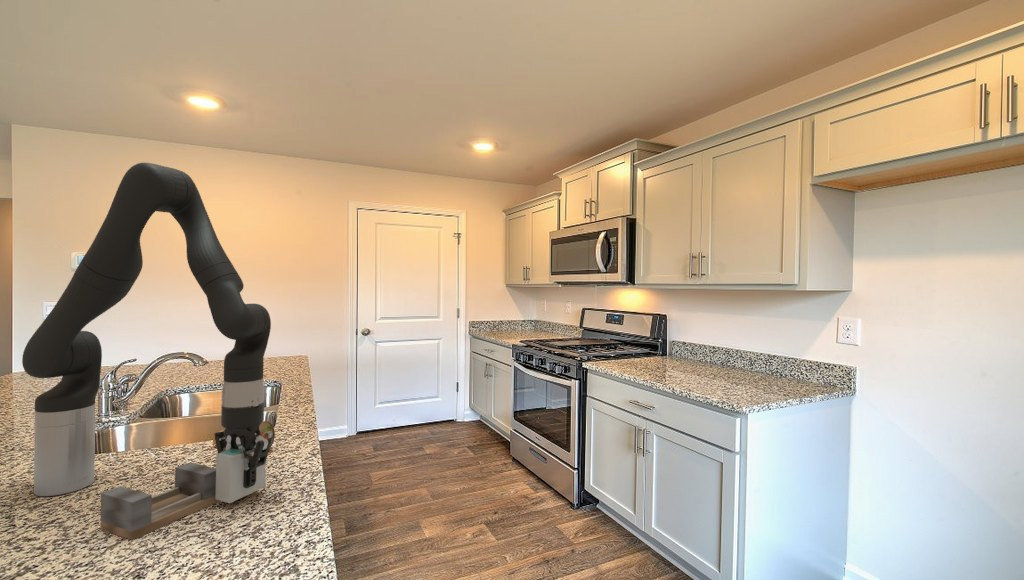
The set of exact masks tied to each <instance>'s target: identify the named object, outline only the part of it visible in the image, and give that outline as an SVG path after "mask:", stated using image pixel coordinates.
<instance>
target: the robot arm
mask: <svg viewBox="0 0 1024 580" xmlns="http://www.w3.org/2000/svg"><path fill="white" fill-rule="evenodd" d="M155 212H159V213H169V214H170V215H171V216H172V217H173V218H174V220H175V221H176V222H177V223H178V224H179V226H180V228H181V229H182V231H183V234H184V237H185V242H186V243H185V244H186V260H187V264H188V267H189V269H190V272H191V273H192V276H193V277H194V278H195V280H196V282H197V283H198V285H199V287H200V289H201V290H202V291H203V293H204V295H205V296H206V299H207V303H208V308H209V310H210V313H211V317H212V320H213V323H214V325H215V327H216V328H217V330H218V332H220V334H222V335H223V336H224V337H225V338H227V339H229V340H233V341H234V346H233V348H232V349H231V350H230V351H228V353H226V354H225V356H224V359H223V383H222V388H221V410H220V411H221V413H220V415H221V417H220V418H221V420H220V425H221V427H222V428H224V429H223V431H222V430H220V432H219V431H217V432H215V433H214V435H213V437H215V441H216V444H215V445H216V450H217V454H218V453H221V452H222V451H224V450H223V449H224V448H225V447H226V450H228V449H232V448H233V449H237V450H239V452H240V453H242V454H241V458H242V459H243V460H244V462H243V464H244V469H245V470H244V482H243V487H244V488H249V487H251V486H253V485H255V483H256V469H257V467H259V466H261V465H264V464H265V462H266V463H267V457H268V453H270V449H271V448H270V445H271V439H270V438H267V439H265V438H263V437H262V436H261V432H260V429H259V426H260V424H261V423H262V422H263V421H265V420H264V419H265V384H264V367H265V366H264V356H265V354H266V351H267V347H268V343H269V338H270V333H271V329H272V328H271V327H272V325H271V324H272V322H271V316H270V313H269V311H268V309H266V307H265V306H263V305H262V304H259V303H245V301H244V300H243V298H242V295H241V292H242V291H243V290H244V282H243V280H242V278H241V275H240V274H239V273H238V271H237V270H236V268H235V267H234V265H233V263H232V262H231V259H230V257H228V255H227V253H226V251H225V250H224V248H223V246H222V245H221V242H220V241H219V238H218V236H217V234H216V232H215V229H214V226H213V224H212V222H211V219H210V217H209V215H208V212H207V210H206V206H205V204H204V202H203V199H202V196H201V193H200V192H199V190H198V187H197V185H196V183H195V182H194V180H193V179H192V177H191V176H190V175H189V174H188V173H186V172H184V171H182V170H179V169H177V168H173V167H170V166H164V165H161V164H156V163H152V162H138V163H136V164H133V165H132V166H131V167H130V168H129V169H127V170H126V172H125V174H124V175H123V177H122V179H121V181H120V183H119V185H118V187H117V189H116V192H115V194H114V197H113V200H112V202H111V204H110V207H109V209H108V211H107V214H106V217H105V218H104V220H103V222H102V224H101V226H100V228H99V229H98V231H97V234H96V235H95V237H94V239H93V241H92V243H91V245H90V246H89V248H88V250H87V251H86V253H85V254H84V255H83V257H82V259H81V260H80V261H79V264H78V266H77V267H76V269H75V271H74V273H73V275H72V277H71V278H70V281H69V282H68V284H67V286H66V287H65V289H64V291H63V293H62V294H61V296H60V297H59V298H58V299H57V302H56V303H55V305H54V307H53V308H52V309H51V311H50V312H49V313H48V315H47V316H46V318H44V320H43V321H42V323H40V325H39V326H38V328H36V330H35V332H34V333H33V334H32V335H31V337H30V338H29V339H28V341H27V342H26V346H25V347H24V350H23V352H22V358H21V360H22V361H21V363H22V368H23V369H24V371H25V373H26V374H27V375H29V376H30V377H33V378H35V379H36V378H38V379H49V378H50V379H51V378H58V377H61V379H60V381H59V382H58V383H57V384H56V385H55V386H54V387H51V388H50V389H49V390H47V391H45V392H43V393H40V394H39V395H38V396H37V397H36V398H35V400H34V443H33V444H34V445H33V451H34V454H33V455H34V456H33V457H34V458H33V462H34V463H33V494H34V495H35V496H37V497H52V496H60V495H65V494H69V493H72V492H76V491H79V490H81V489H85V488H86V487H89V486H90V485H92V484H93V483H94V482H95V464H96V463H95V459H96V458H95V457H96V455H95V454H96V453H95V450H96V447H95V446H96V445H95V444H96V442H95V441H96V439H95V438H96V397H97V394H98V393H99V390H100V385H101V383H100V382H101V370H102V359H103V353H102V346H101V345H102V344H101V342H100V339H99V338H98V337H97V335H96V334H94V333H93V332H90V331H88V330H83V329H84V328H85V327H86V326H87V325H89V324H90V323H91V322H92V321H94V320H95V319H97V318H98V317H99V316H101V315H103V314H104V313H106V312H107V311H108V310H110V309H111V308H113V307H114V306H116V305H117V304H118V303H120V302H121V301H123V299H124V298H125V297H126V296H127V295H129V293H130V291H131V290H132V288H133V286H134V284H135V283H136V280H138V278H139V276H140V273H141V272H142V269H143V254H142V246H141V237H142V233H143V230H144V228H145V227H146V225H147V223H148V222H149V220H150V219H151V217H152V216H153V215H154V214H155ZM269 448H270V449H269ZM252 449H254V451H253V452H250V453H248V454H247V453H246V452H247V451H250V450H252ZM251 456H252V461H251V463H250V462H249V457H251ZM259 458H260V460H259Z"/></svg>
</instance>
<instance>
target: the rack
mask: <svg viewBox="0 0 1024 580" xmlns="http://www.w3.org/2000/svg"><path fill="white" fill-rule="evenodd" d="M215 498H216V467H212V466H208V465H204V464H200V463H199V464H198V463H195V462H187V463H184V464H181V465H178V466H176V467H174V487H173V488H171V489H168V490H166V491H163V492H160V493H158V494H155V495H152V494H149V493H146V492H142V491H139V490H135V489H132V488H128V487H125V486H118V487H115V488H112V489H108V490H106V491H103V492H100V530H101V529H102V530H101V531H104V532H106V533H110V534H113V535H115V536H119V537H121V538H123V539H126V538H128V539H127V540H129V539H131V540H130V541H134V540H136V539H139V538H140V537H143V536H145V535H147V534H149V533H151V531H152V532H153V531H156V530H158V529H160V528H162V527H163V528H164V527H165V526H167V525H169V523H170V524H172V523H174V522H176V521H178V519H179V520H180V518H181V519H183V518H185V517H187V516H190V515H192V514H194V513H196V512H199V511H200V509H201V510H202V509H205V508H207V506H208V507H210V506H212V505H214V504H216V503H219V502H220V500H216V499H215ZM209 505H210V506H209ZM198 510H199V511H198ZM193 512H194V513H193ZM191 513H192V514H191ZM189 514H190V515H189ZM186 515H187V516H186ZM184 516H185V517H184ZM182 517H183V518H182ZM171 522H172V523H171ZM135 538H136V539H135ZM133 539H134V540H133Z"/></svg>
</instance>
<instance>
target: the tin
mask: <svg viewBox="0 0 1024 580" xmlns="http://www.w3.org/2000/svg"><path fill="white" fill-rule="evenodd" d="M259 429H260V432H261V436H262V437H263V438H265V439H267V438H270V439H271V445H270V448H269V450H270V449H271V448H272V446H273V444H274V442H275V438H276V437H275V436H276V432H275V428H274V426H273V424H272V422H269V421H266V420H263V422H262V423H261V424H260V426H259ZM223 450H224V451H225V450H226V447H225V448H224V449H223Z"/></svg>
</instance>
